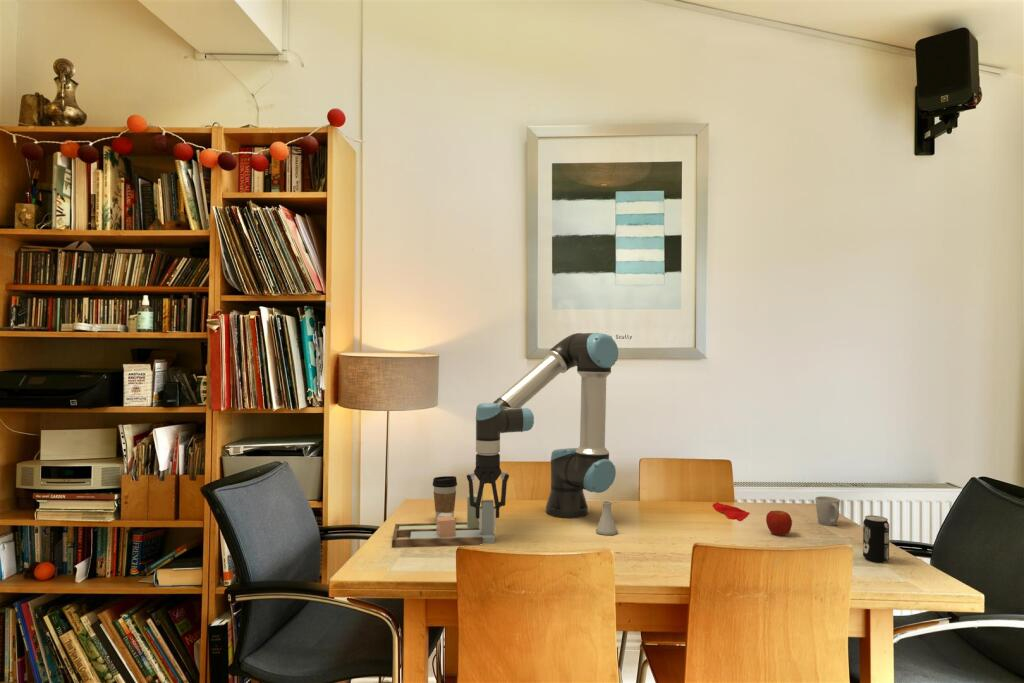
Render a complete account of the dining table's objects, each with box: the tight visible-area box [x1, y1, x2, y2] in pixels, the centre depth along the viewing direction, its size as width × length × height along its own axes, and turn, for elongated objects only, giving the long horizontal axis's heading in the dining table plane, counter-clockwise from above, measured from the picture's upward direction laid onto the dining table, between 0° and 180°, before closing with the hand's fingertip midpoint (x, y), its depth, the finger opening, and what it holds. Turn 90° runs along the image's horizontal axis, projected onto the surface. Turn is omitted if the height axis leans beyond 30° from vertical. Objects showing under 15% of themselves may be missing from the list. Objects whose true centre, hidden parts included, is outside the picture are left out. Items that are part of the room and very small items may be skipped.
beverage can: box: [862, 514, 890, 564], centre depth 194 cm, size 7×7×12 cm
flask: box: [595, 500, 619, 536], centre depth 220 cm, size 7×7×10 cm
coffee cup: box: [432, 475, 458, 522], centre depth 233 cm, size 8×8×15 cm
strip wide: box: [409, 499, 496, 544], centre depth 210 cm, size 26×8×12 cm, turn 97°
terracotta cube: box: [436, 516, 457, 538], centre depth 210 cm, size 5×5×5 cm
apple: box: [765, 510, 793, 536], centre depth 219 cm, size 8×8×8 cm
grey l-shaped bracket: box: [399, 493, 479, 530], centre depth 218 cm, size 26×5×12 cm, turn 97°
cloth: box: [712, 501, 751, 522], centre depth 247 cm, size 26×14×2 cm, turn 170°
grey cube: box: [438, 513, 453, 517], centre depth 218 cm, size 4×4×4 cm
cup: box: [815, 495, 841, 527], centre depth 231 cm, size 8×10×8 cm
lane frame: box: [391, 521, 484, 549], centre depth 213 cm, size 27×18×2 cm, turn 97°
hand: (487, 528), depth 211 cm, fingers closed on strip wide, 3 cm apart
